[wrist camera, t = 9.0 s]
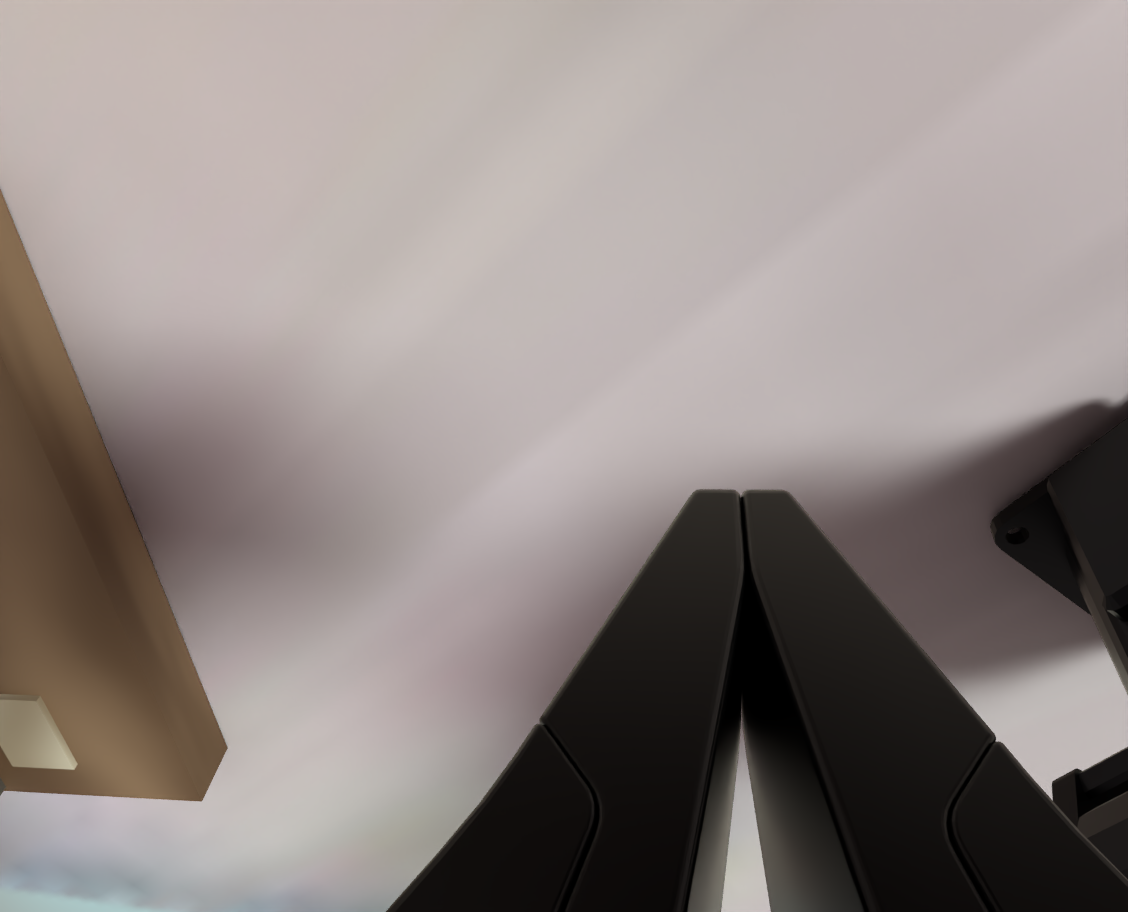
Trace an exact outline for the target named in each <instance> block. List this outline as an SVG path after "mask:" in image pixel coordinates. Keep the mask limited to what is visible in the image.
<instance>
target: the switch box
mask: <svg viewBox="0 0 1128 912" xmlns="http://www.w3.org/2000/svg"><path fill="white" fill-rule="evenodd" d="M226 750H227V745H226V743H225V740H224V738H223V736H222V733H221V731H220V728H219V726H218V723H217V721H216V718H215V716H214V713H213V711H212V709H211V706H210V704H209V701H208V699H207V696H206V694H205V691H204V689H203V686H202V684H201V681H200V679H199V677H198V674H197V672H196V669H195V667H194V664H193V662H192V659H191V657H190V654H189V652H188V650H187V647H186V645H185V642H184V640H183V637H182V635H181V632H180V630H179V627H178V625H177V622H176V620H175V618H174V615H173V613H172V610H171V608H170V605H169V603H168V600H167V598H166V595H165V593H164V591H163V588H162V586H161V583H160V581H159V578H158V576H157V573H156V571H155V568H154V566H153V563H152V561H151V559H150V556H149V554H148V551H147V549H146V546H145V544H144V541H143V539H142V536H141V534H140V532H139V529H138V527H137V524H136V522H135V519H134V517H133V514H132V512H131V509H130V507H129V504H128V502H127V500H126V497H125V495H124V492H123V490H122V487H121V485H120V482H119V480H118V477H117V475H116V473H115V470H114V468H113V465H112V463H111V460H110V458H109V455H108V453H107V450H106V448H105V445H104V443H103V441H102V438H101V436H100V433H99V431H98V428H97V426H96V423H95V421H94V418H93V416H92V414H91V411H90V409H89V406H88V404H87V401H86V399H85V396H84V394H83V391H82V389H81V386H80V384H79V382H78V379H77V377H76V374H75V372H74V369H73V367H72V364H71V362H70V359H69V357H68V355H67V352H66V350H65V347H64V345H63V342H62V340H61V337H60V335H59V332H58V330H57V327H56V325H55V323H54V320H53V318H52V315H51V313H50V310H49V308H48V305H47V303H46V300H45V298H44V296H43V293H42V291H41V288H40V286H39V283H38V281H37V278H36V276H35V273H34V271H33V269H32V266H31V264H30V261H29V259H28V256H27V254H26V251H25V249H24V246H23V244H22V241H21V239H20V237H19V234H18V232H17V229H16V227H15V224H14V222H13V219H12V217H11V214H10V212H9V210H8V207H7V205H6V202H5V200H4V197H3V195H2V192H1V190H0V795H1V794H2V792H3V791H20V792H38V793H57V794H75V795H93V796H112V797H130V798H149V799H167V800H185V801H202V800H203V798H204V796H205V794H206V792H207V790H208V788H209V785H210V783H211V781H212V779H213V777H214V775H215V773H216V771H217V769H218V767H219V765H220V763H221V760H222V758H223V756H224V754H225V752H226Z"/></svg>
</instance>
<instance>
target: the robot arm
mask: <svg viewBox="0 0 1128 912" xmlns="http://www.w3.org/2000/svg"><path fill="white" fill-rule="evenodd" d="M990 527H991V533H992V535H993V538H994V541H995V543H996V545H997V546H998V547H999V548H1000V549H1001V550H1003V551H1004V552H1005V553H1007V554H1008V555H1009V556H1011V557H1012V558H1014V559H1015V560H1016V561H1018V562H1019V563H1020V564H1022V565H1023V566H1025V567H1026V568H1027V569H1029V570H1030V571H1031V572H1033V573H1034V574H1035V575H1037V576H1038V577H1040V578H1041V579H1042V580H1044V581H1045V582H1046V583H1048V584H1049V585H1050V586H1052V587H1053V588H1055V589H1056V590H1057V591H1059V592H1060V593H1061V594H1063V595H1064V596H1065V597H1067V598H1068V599H1070V600H1071V601H1072V602H1074V603H1075V604H1076V605H1078V606H1079V607H1081V608H1082V609H1083V610H1085V611H1086V612H1087V613H1089V614H1090V615H1091V616H1092V617H1093V620H1094V622H1095V624H1096V626H1097V628H1098V631H1099V633H1100V635H1101V637H1102V639H1103V642H1104V644H1105V646H1106V648H1107V650H1108V653H1109V655H1110V657H1111V659H1112V661H1113V664H1114V666H1115V668H1116V670H1117V672H1118V675H1119V677H1120V679H1121V681H1122V683H1123V686H1124V688H1125V690H1126V692H1127V694H1128V418H1127V419H1126V420H1125V421H1123V422H1122V423H1120V424H1119V425H1118V426H1116V427H1115V428H1114V429H1112V430H1111V431H1110V432H1108V433H1107V434H1106V435H1104V436H1103V437H1101V438H1100V439H1099V440H1097V441H1096V442H1095V443H1093V444H1092V445H1091V446H1089V447H1088V448H1087V449H1085V450H1084V451H1082V452H1081V453H1080V454H1078V455H1077V456H1076V457H1074V458H1073V459H1072V460H1070V461H1069V462H1068V463H1066V464H1065V465H1063V466H1062V467H1061V468H1059V469H1058V470H1057V471H1055V472H1054V473H1053V474H1051V475H1050V476H1049V477H1047V478H1046V479H1045V480H1043V481H1042V482H1041V483H1039V484H1038V485H1037V486H1035V487H1034V488H1033V489H1031V490H1030V491H1028V492H1027V493H1026V494H1024V495H1023V496H1022V497H1020V498H1019V499H1018V500H1016V501H1015V502H1014V503H1012V504H1011V505H1009V506H1008V507H1007V508H1005V509H1004V510H1003V511H1001V512H1000V513H999V514H998V515H997V516H996V517H995V518H994V519H993V520H992V523H991V525H990ZM1015 527H1022V528H1023V529H1022V530H1021V531H1019V532H1017V533H1008V531H1009V530H1011V529H1013V528H1015ZM741 705H742V722H743V733H744V741H745V749H746V756H747V762H748V769H749V775H750V781H751V788H752V794H753V801H754V807H755V813H756V820H757V826H758V832H759V839H760V845H761V851H762V858H763V864H764V870H765V877H766V883H767V890H768V896H769V902H770V909H771V912H1128V747H1126V748H1125V749H1123V750H1121V751H1119V752H1117V753H1115V754H1113V755H1112V756H1110V757H1108V758H1106V759H1104V760H1102V761H1100V762H1099V763H1097V764H1095V765H1093V766H1091V767H1089V768H1087V769H1086V770H1084V771H1081V770H1079V769H1074V770H1072V771H1071V772H1069V773H1067V774H1065V775H1063V776H1061V777H1060V778H1058V779H1056V780H1054V781H1053V782H1052V794H1053V801H1052V800H1051V798H1050V797H1049V796H1048V795H1047V794H1046V793H1045V792H1044V791H1043V789H1042V788H1041V787H1040V786H1039V785H1038V784H1037V783H1036V782H1035V781H1034V779H1033V778H1032V777H1031V776H1030V775H1029V774H1028V773H1027V771H1026V770H1025V769H1024V768H1023V767H1022V765H1021V764H1020V763H1019V762H1018V761H1017V760H1016V758H1015V757H1014V756H1013V755H1012V754H1011V752H1010V751H1009V750H1008V749H1007V748H1006V746H1005V745H1004V744H1003V743H1001V742H995V741H996V736H995V734H994V733H993V732H992V731H991V729H990V728H989V727H988V726H987V725H986V723H985V722H984V721H983V720H982V719H981V718H980V716H979V715H978V714H977V713H976V712H975V711H974V709H973V708H972V707H971V706H970V705H969V703H968V702H967V701H966V700H965V699H964V698H963V696H962V695H961V694H960V693H959V692H958V690H957V689H956V688H955V687H954V686H953V685H952V683H951V682H950V681H949V680H948V679H947V678H946V676H945V675H944V674H943V673H942V672H941V670H940V669H939V668H938V667H937V666H936V665H935V663H934V662H933V661H932V660H931V659H930V657H929V656H928V655H927V654H926V653H925V652H924V650H923V649H922V648H921V647H920V646H919V645H918V643H917V642H916V641H915V640H914V639H913V637H912V636H911V635H910V634H909V633H908V632H907V630H906V629H905V628H904V627H903V626H902V624H901V623H900V622H899V621H898V620H897V619H896V617H895V616H894V615H893V614H892V613H891V611H890V610H889V609H888V608H887V607H886V606H885V604H884V603H883V602H882V601H881V600H880V599H879V597H878V596H877V595H876V594H875V593H874V591H873V590H872V589H871V588H870V587H869V586H868V584H867V583H866V582H865V581H864V580H863V578H862V577H861V576H860V575H859V574H858V573H857V571H856V570H855V569H854V568H853V567H852V566H851V564H850V563H849V562H848V561H847V560H846V558H845V557H844V556H843V555H842V554H841V553H840V551H839V550H838V549H837V548H836V547H835V545H834V544H833V543H832V542H831V541H830V540H829V538H828V537H827V536H826V535H825V534H824V533H823V531H822V530H821V529H820V528H819V527H818V525H817V524H816V523H815V522H814V521H813V520H812V518H811V517H810V516H809V515H808V514H807V512H806V511H805V510H804V509H803V508H802V507H801V505H800V504H799V503H798V502H797V501H796V500H795V498H794V497H793V496H792V495H791V494H790V493H789V492H787V491H785V490H746V491H745V492H743V494H742V496H741V497H740V494H739V493H738V492H737V491H735V490H727V489H700V490H696V491H694V492H693V493H692V495H691V496H690V497H689V499H688V500H687V502H686V503H685V505H684V506H683V508H682V509H681V511H680V512H679V513H678V515H677V516H676V518H675V519H674V521H673V522H672V524H671V525H670V527H669V528H668V530H667V531H666V533H665V534H664V536H663V537H662V539H661V540H660V542H659V543H658V545H657V546H656V548H655V549H654V550H653V552H652V553H651V555H650V556H649V558H648V559H647V561H646V562H645V564H644V565H643V567H642V568H641V570H640V571H639V573H638V574H637V576H636V577H635V579H634V580H633V582H632V583H631V584H630V586H629V587H628V589H627V590H626V592H625V593H624V595H623V596H622V598H621V599H620V601H619V602H618V604H617V605H616V607H615V608H614V610H613V611H612V613H611V614H610V616H609V617H608V618H607V620H606V621H605V623H604V624H603V626H602V627H601V629H600V630H599V632H598V633H597V635H596V636H595V638H594V639H593V641H592V642H591V644H590V645H589V647H588V648H587V650H586V651H585V653H584V654H583V655H582V657H581V658H580V660H579V661H578V663H577V664H576V666H575V667H574V669H573V670H572V672H571V673H570V675H569V676H568V678H567V679H566V681H565V682H564V684H563V685H562V687H561V688H560V689H559V691H558V692H557V694H556V695H555V697H554V698H553V700H552V701H551V703H550V704H549V706H548V707H547V709H546V710H545V712H544V713H543V715H542V716H541V718H540V724H536V725H535V726H534V727H533V729H532V730H531V732H530V733H529V735H528V736H527V738H526V739H525V741H524V742H523V744H522V745H521V746H520V748H519V749H518V751H517V752H516V754H515V755H514V757H513V758H512V760H511V761H510V762H509V764H508V765H507V766H506V768H505V769H504V771H503V772H502V773H501V775H500V776H499V777H498V779H497V780H496V782H495V783H494V784H493V786H492V787H491V788H490V790H489V791H488V792H487V794H486V795H485V797H484V798H483V799H482V801H481V802H480V803H479V805H478V806H477V807H476V808H475V809H474V811H473V812H472V813H471V814H470V815H469V816H468V818H467V819H466V820H465V821H464V822H463V824H462V825H461V826H460V827H459V828H458V830H457V831H456V832H455V833H454V834H453V836H452V837H451V838H450V839H449V840H448V841H447V843H446V844H445V845H444V846H443V847H442V849H441V850H440V851H439V852H438V853H437V855H436V856H435V857H434V858H433V859H432V860H431V861H430V862H429V864H428V865H427V866H426V867H425V868H424V869H423V870H422V871H421V873H420V874H419V875H418V876H417V877H416V878H415V879H414V880H413V882H412V883H411V884H410V885H409V886H408V887H407V888H406V889H405V891H404V892H403V893H402V894H401V895H400V896H399V897H398V898H397V900H396V901H395V902H394V903H393V904H392V905H391V906H390V908H389V909H388V910H387V911H386V912H721V907H722V898H723V889H724V880H725V871H726V862H727V853H728V844H729V835H730V826H731V817H732V808H733V799H734V790H735V781H736V772H737V763H738V754H739V742H740V729H741Z"/></svg>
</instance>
